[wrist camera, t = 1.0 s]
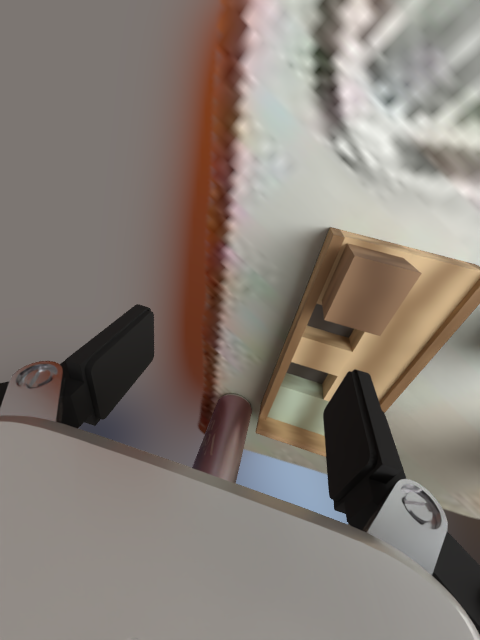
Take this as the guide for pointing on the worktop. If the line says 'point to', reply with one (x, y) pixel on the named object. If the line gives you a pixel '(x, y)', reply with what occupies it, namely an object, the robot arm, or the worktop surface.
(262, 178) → the worktop surface
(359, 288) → the walnut block
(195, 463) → the beverage can
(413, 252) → the trap trough
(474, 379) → the worktop surface
